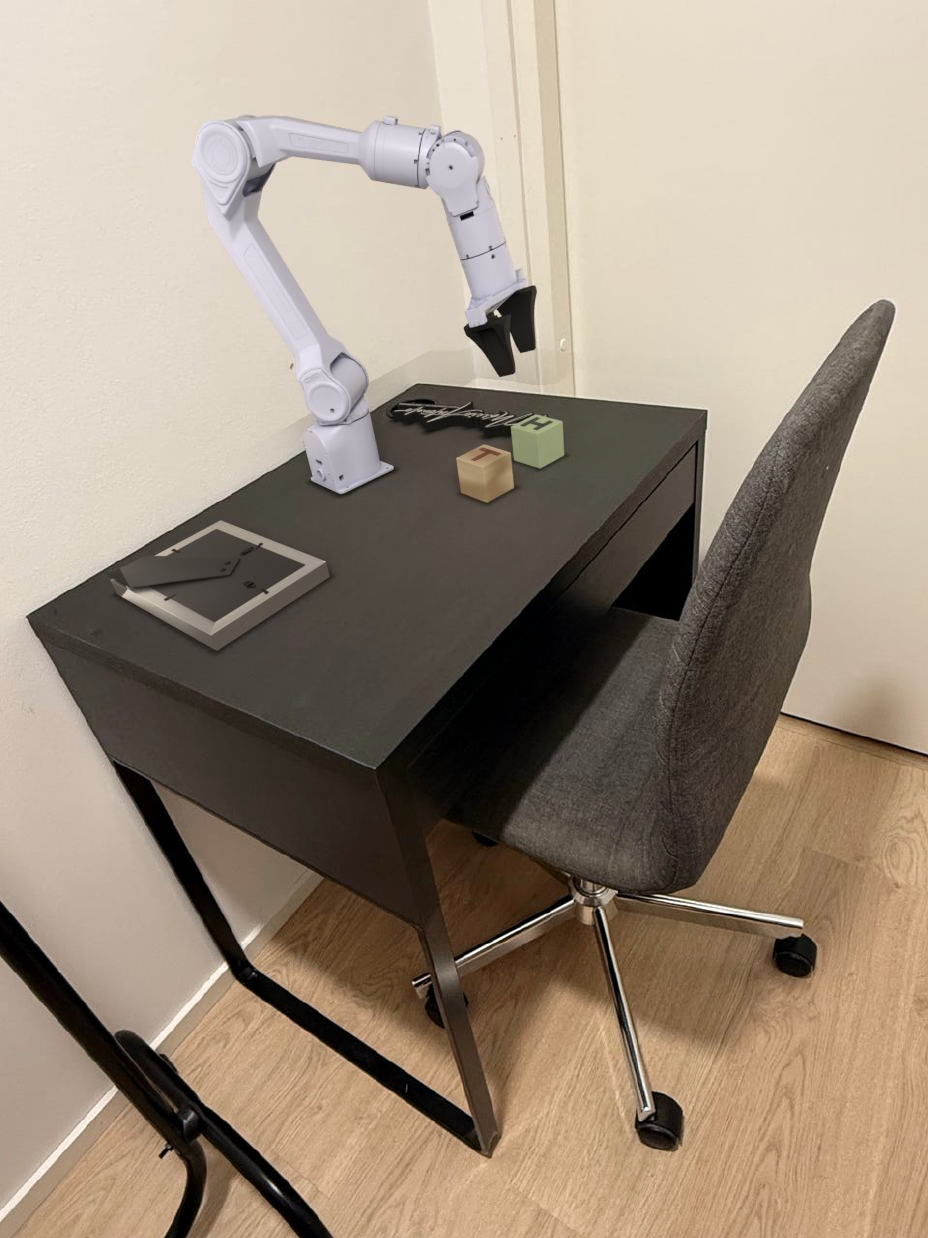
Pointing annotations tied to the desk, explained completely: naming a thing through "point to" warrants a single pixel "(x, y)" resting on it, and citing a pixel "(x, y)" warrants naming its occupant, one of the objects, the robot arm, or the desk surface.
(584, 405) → the desk surface
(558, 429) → the sage block
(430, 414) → the nameplate
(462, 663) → the desk surface
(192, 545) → the picture frame
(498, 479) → the cream block
